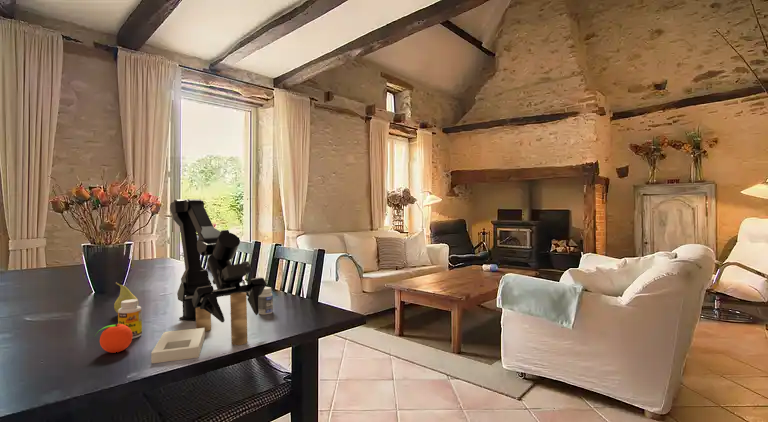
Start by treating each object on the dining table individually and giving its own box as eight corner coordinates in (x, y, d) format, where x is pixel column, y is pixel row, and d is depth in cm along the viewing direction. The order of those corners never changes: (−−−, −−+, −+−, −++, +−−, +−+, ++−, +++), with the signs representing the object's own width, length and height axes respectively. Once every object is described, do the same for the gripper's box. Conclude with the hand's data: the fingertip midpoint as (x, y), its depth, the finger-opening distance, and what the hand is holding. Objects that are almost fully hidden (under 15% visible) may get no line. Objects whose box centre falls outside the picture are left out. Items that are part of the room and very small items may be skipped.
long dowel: (228, 344, 105) (226, 295, 104) (237, 339, 108) (236, 291, 108) (241, 345, 103) (240, 296, 103) (250, 340, 107) (249, 292, 107)
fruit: (143, 312, 137) (141, 277, 137) (126, 318, 130) (125, 282, 129) (124, 312, 138) (123, 277, 138) (107, 318, 130) (106, 282, 130)
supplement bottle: (115, 341, 108) (113, 303, 108) (123, 334, 114) (122, 299, 114) (137, 339, 110) (136, 302, 109) (145, 333, 115) (144, 297, 115)
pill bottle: (268, 315, 131) (268, 289, 131) (255, 314, 132) (255, 289, 132) (275, 311, 136) (274, 286, 136) (262, 310, 137) (262, 286, 137)
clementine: (91, 359, 96) (90, 330, 96) (98, 350, 102) (97, 322, 102) (130, 354, 99) (129, 325, 99) (135, 345, 105) (134, 318, 105)
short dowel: (193, 331, 116) (192, 307, 116) (202, 327, 120) (202, 304, 119) (204, 332, 115) (204, 308, 114) (214, 328, 118) (213, 304, 118)
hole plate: (164, 341, 108) (164, 331, 108) (204, 336, 111) (204, 327, 111) (151, 363, 93) (151, 352, 93) (198, 357, 96) (198, 347, 96)
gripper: (194, 256, 102) (212, 307, 94) (262, 249, 115) (283, 293, 107) (185, 283, 108) (201, 332, 100) (250, 273, 121) (269, 316, 113)
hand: (240, 317), depth 105 cm, fingers open, 9 cm apart
